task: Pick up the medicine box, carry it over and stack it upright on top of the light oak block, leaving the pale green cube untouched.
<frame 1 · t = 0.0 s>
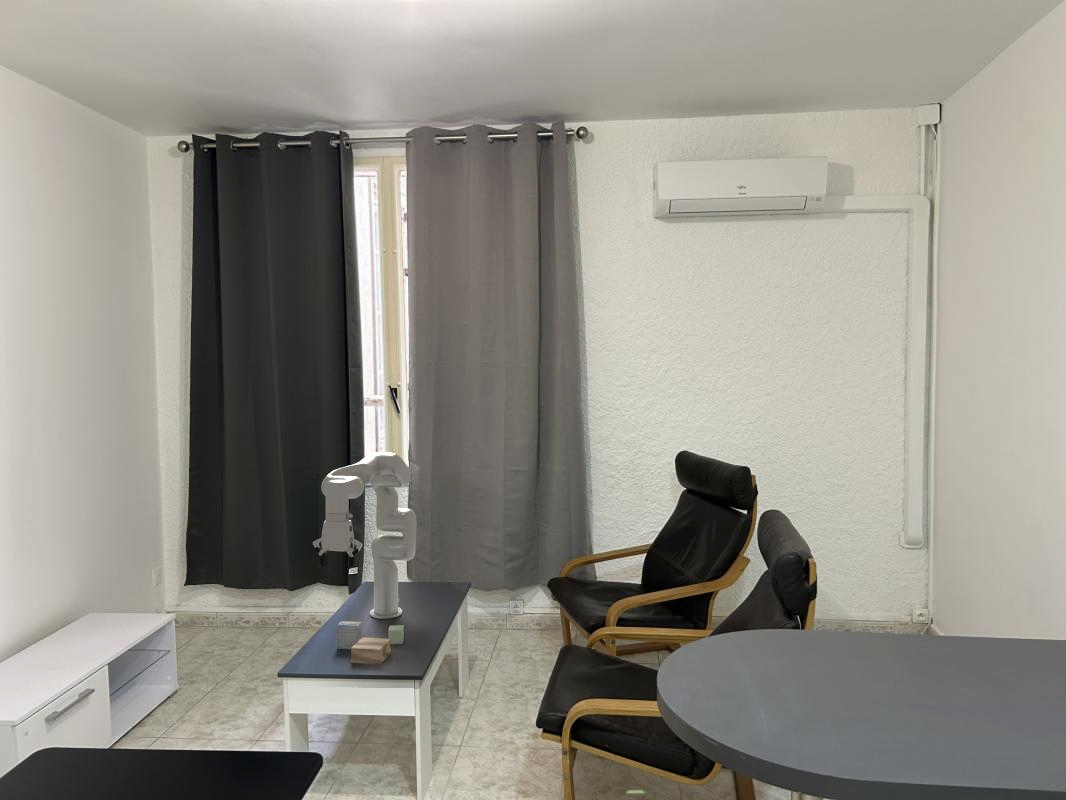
hand: (337, 567, 252), 31 cm above the table, fingers open, 9 cm apart
green cube: (396, 641, 269), on the table
oak block: (371, 657, 254), on the table
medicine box: (349, 648, 263), on the table
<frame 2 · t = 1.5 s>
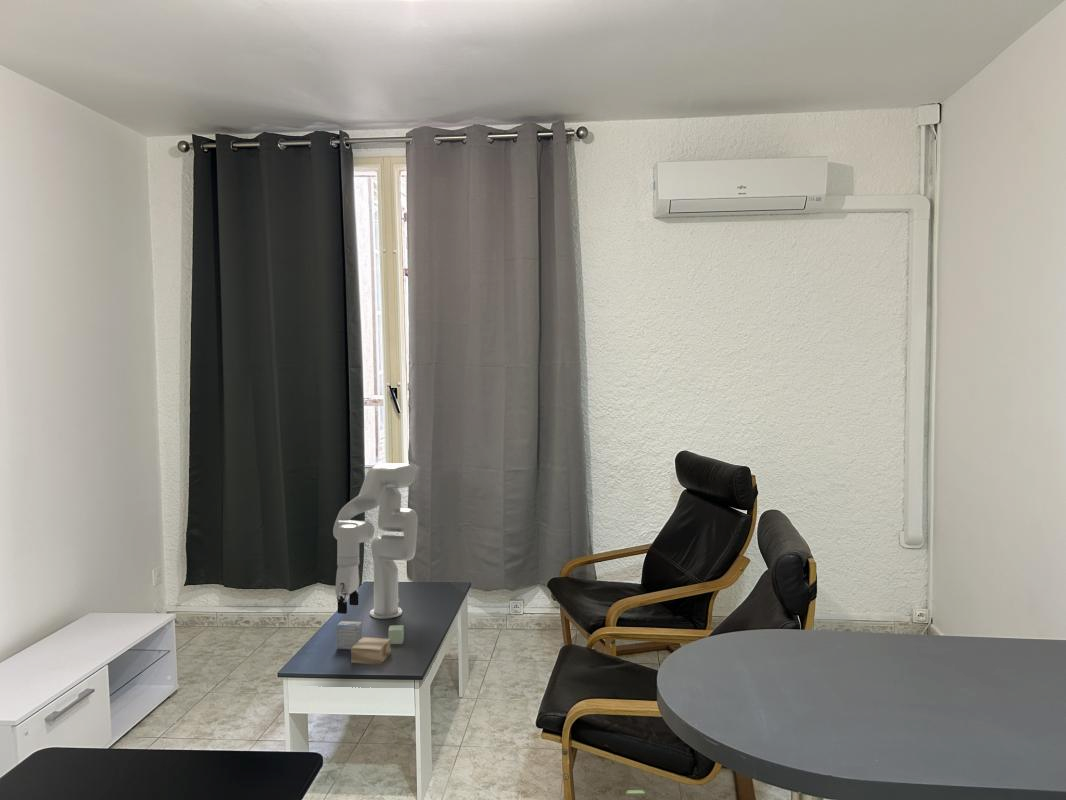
hand: (348, 609, 261), 14 cm above the table, fingers open, 9 cm apart
nothing on the table moved.
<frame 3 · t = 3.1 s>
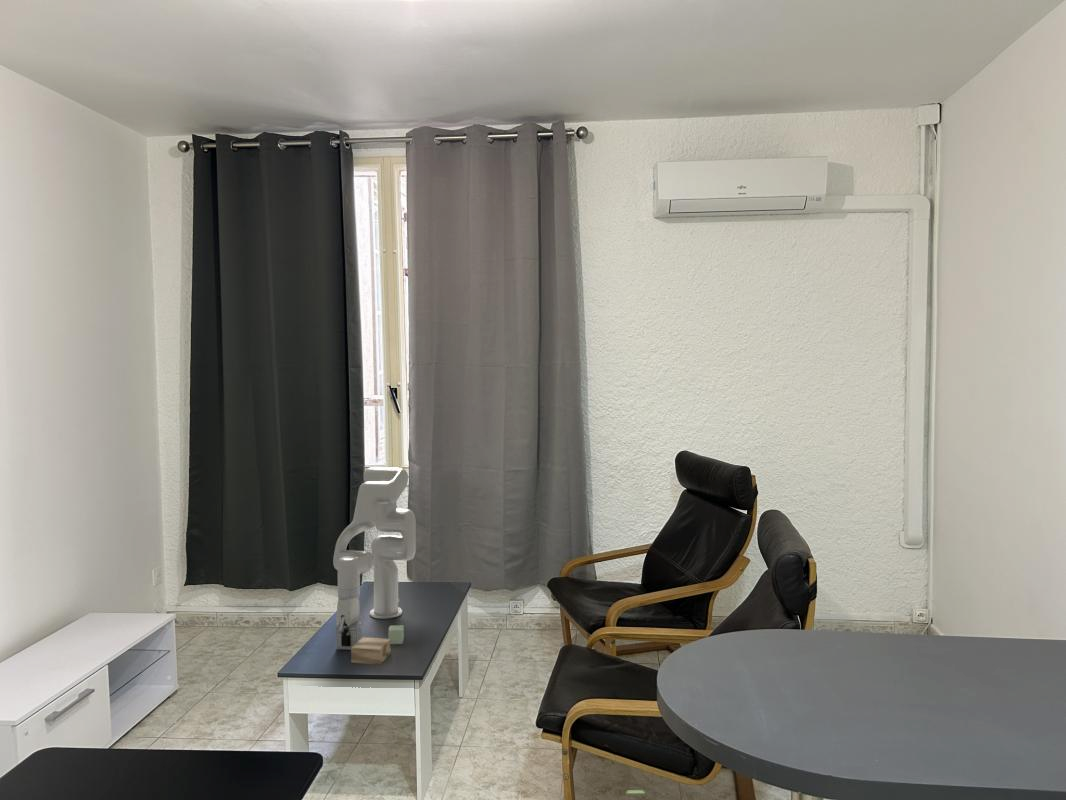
hand: (349, 642, 262), 2 cm above the table, fingers closed on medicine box, 4 cm apart
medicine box: (349, 648, 263), on the table, touching gripper
everything else where it was.
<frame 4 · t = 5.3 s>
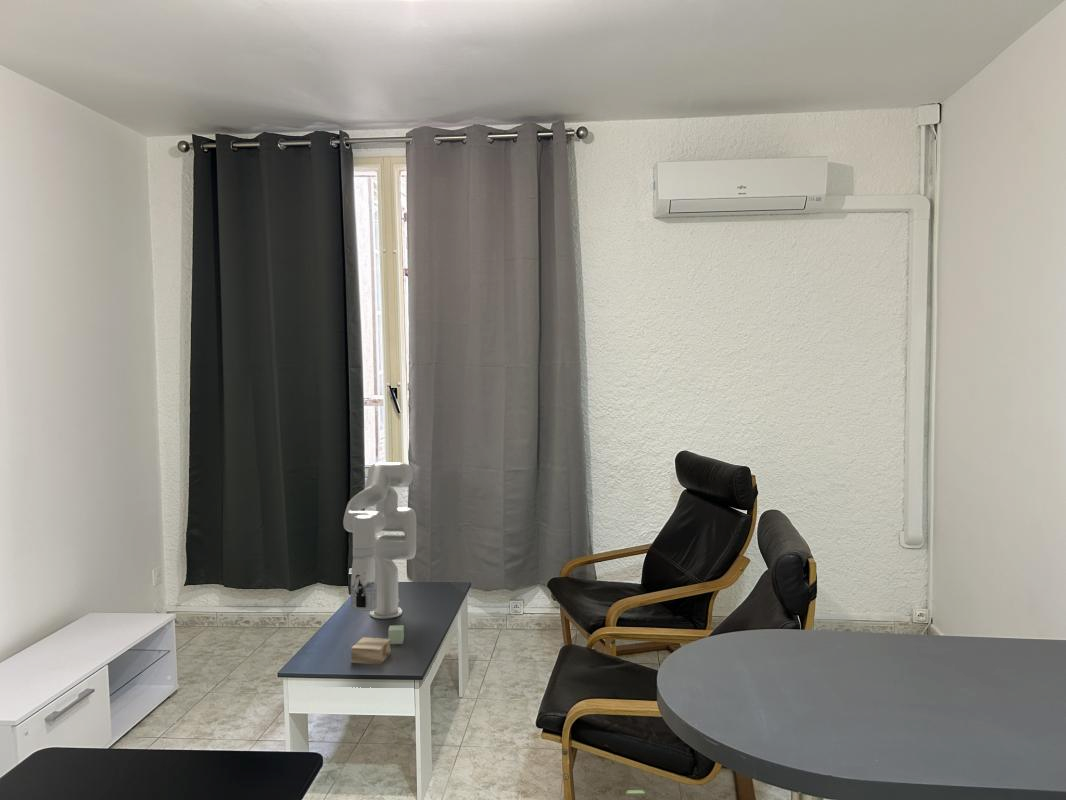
hand: (364, 604, 255), 18 cm above the table, fingers closed on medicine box, 4 cm apart
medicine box: (364, 610, 255), point 16 cm above the table, touching gripper
everything else where it was.
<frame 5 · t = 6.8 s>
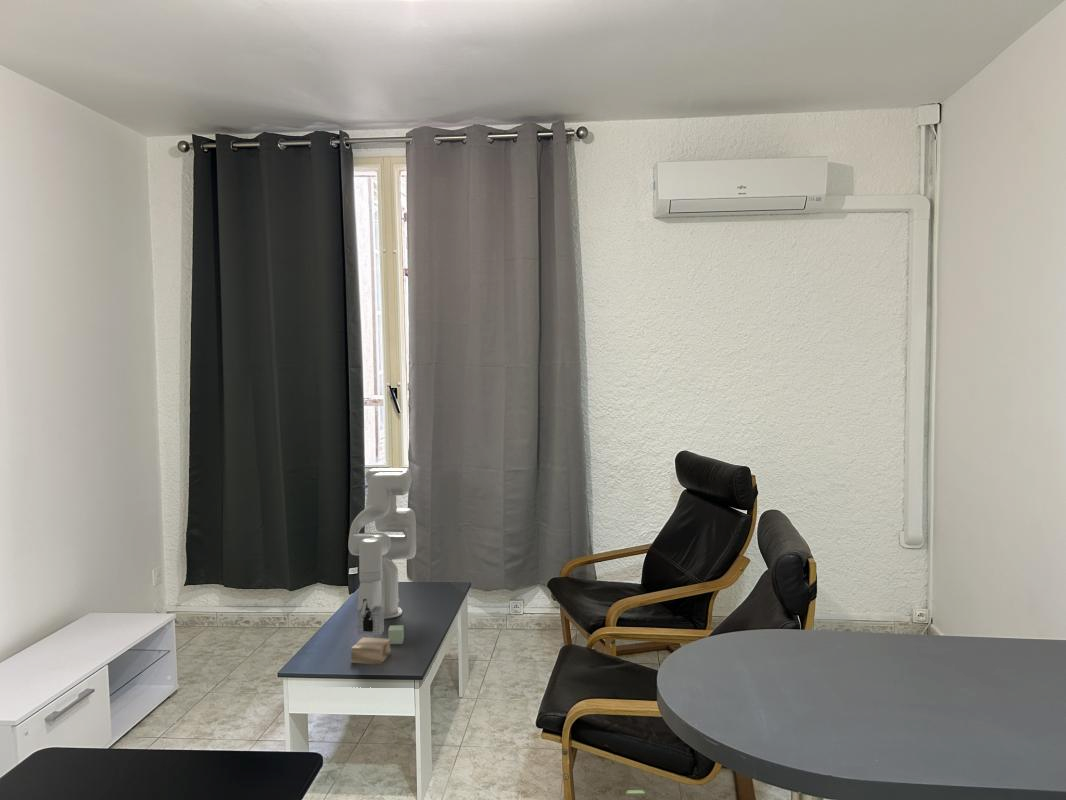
hand: (371, 627, 253), 10 cm above the table, fingers closed on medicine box, 4 cm apart
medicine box: (370, 633, 253), point 8 cm above the table, touching gripper
everything else where it was.
when the fingers open (7 cm above the table, at t = 7.7 s): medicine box stays where it is, resting on oak block.
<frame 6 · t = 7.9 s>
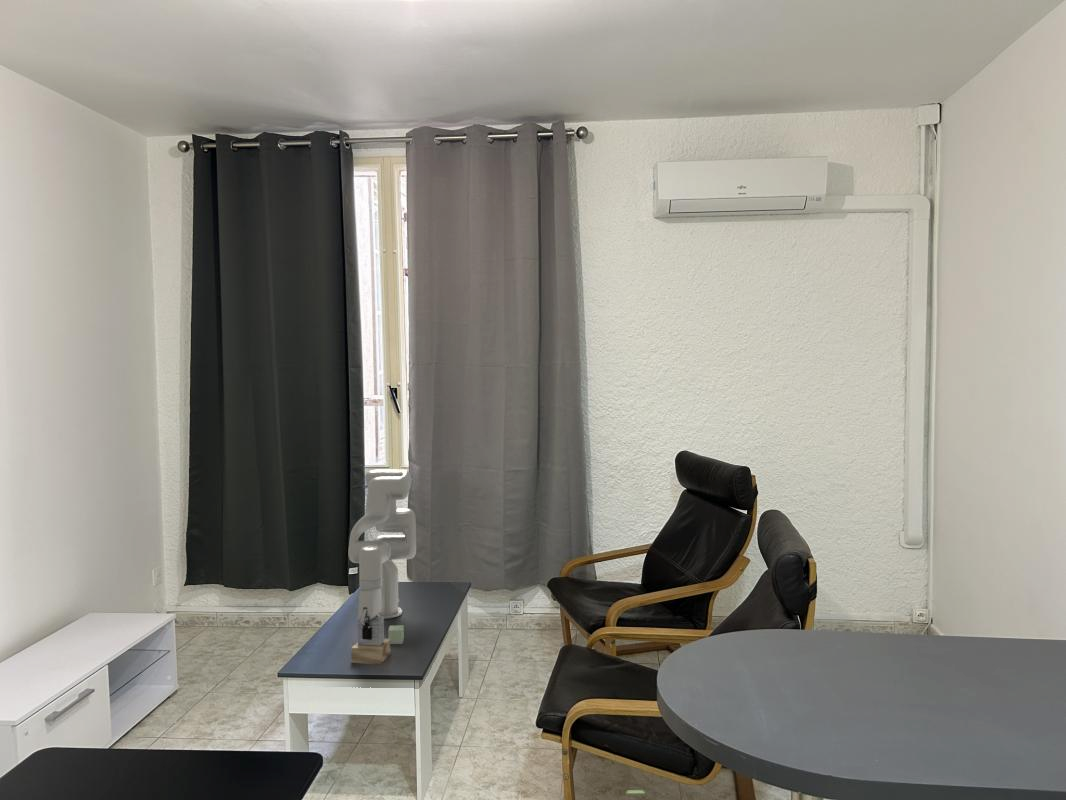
hand: (371, 635, 253), 8 cm above the table, fingers open, 6 cm apart
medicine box: (370, 643, 253), point 5 cm above the table, touching oak block
everything else where it was.
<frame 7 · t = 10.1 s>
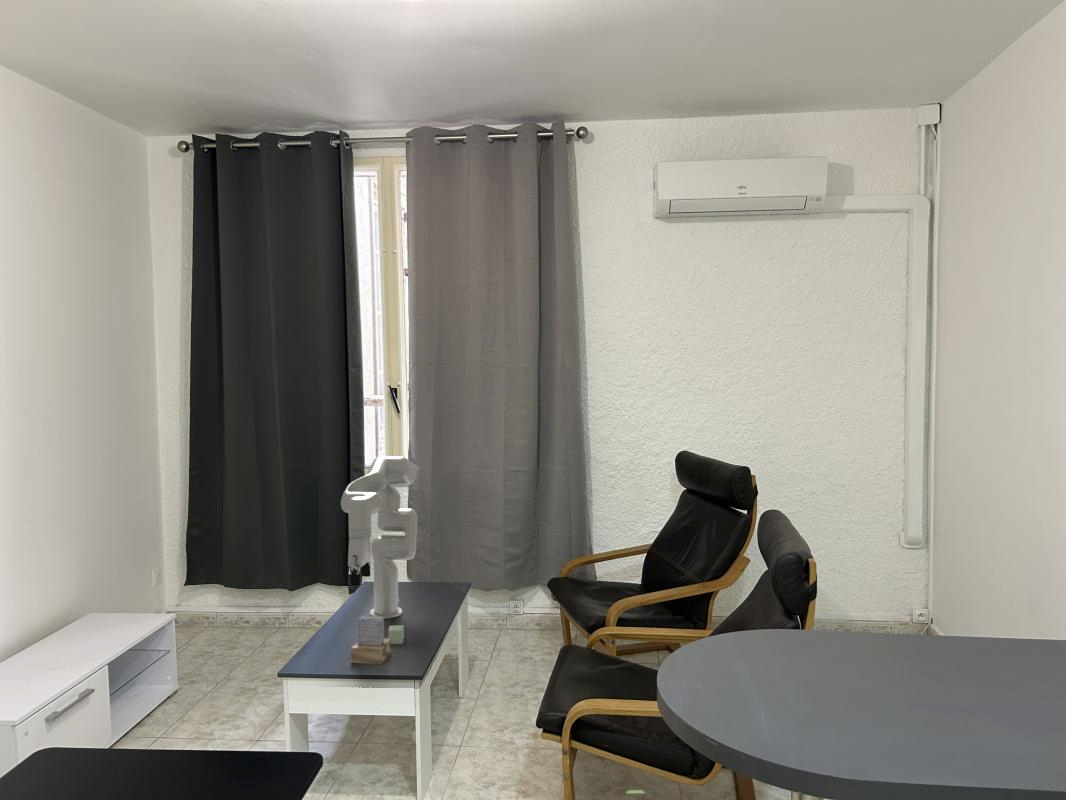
hand: (360, 580, 261), 24 cm above the table, fingers open, 9 cm apart
nothing on the table moved.
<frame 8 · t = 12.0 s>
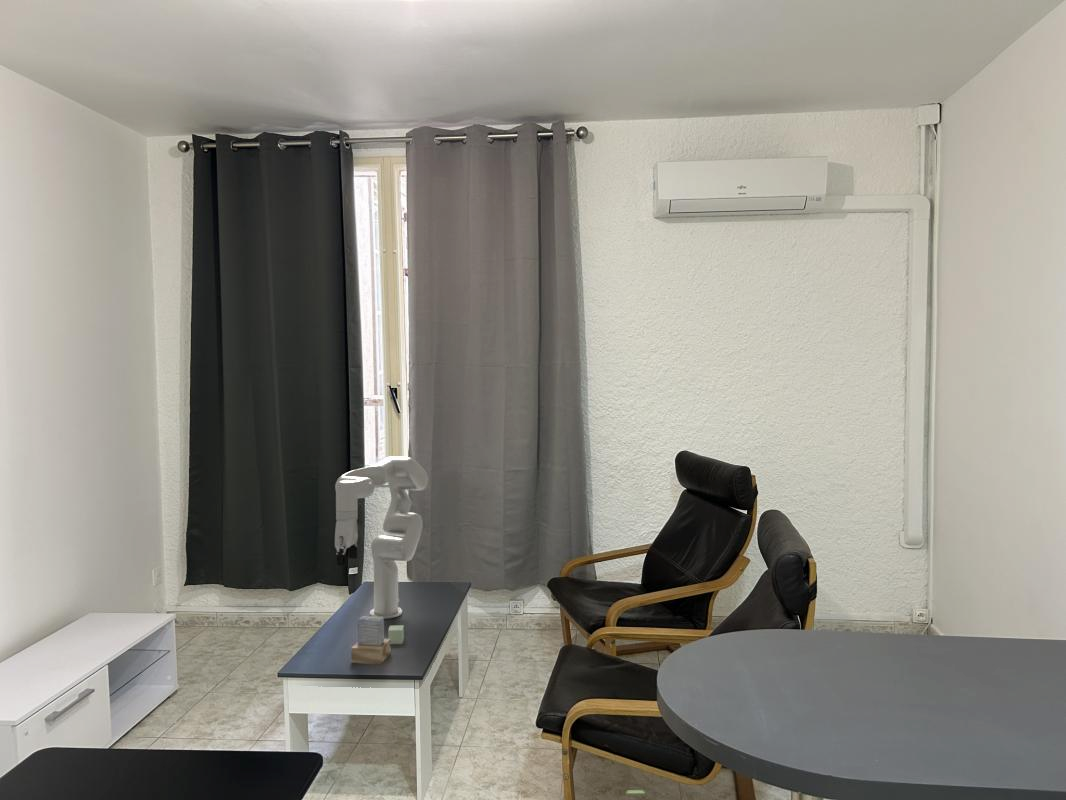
hand: (347, 561, 270), 28 cm above the table, fingers open, 9 cm apart
nothing on the table moved.
at the end: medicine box inside the target area on the oak block (0.1 cm from its centre), point 4.8 cm above the oak block's base; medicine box tilted 0°; green cube moved 0.1 cm from its start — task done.
